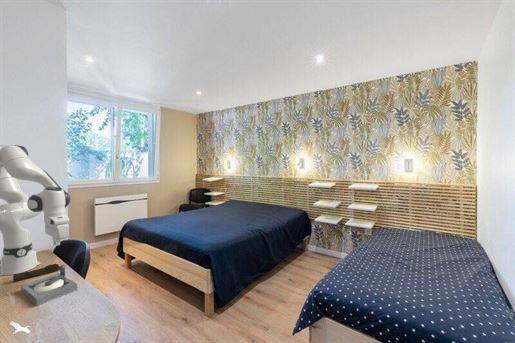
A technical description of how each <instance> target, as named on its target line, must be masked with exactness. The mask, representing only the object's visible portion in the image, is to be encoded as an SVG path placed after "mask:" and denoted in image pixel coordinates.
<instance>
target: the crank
mask: <svg viewBox="0 0 515 343" xmlns="http://www.w3.org/2000/svg"><path fill="white" fill-rule="evenodd" d="M59 266H60V270H59V272H60V275H59V276H57V277H55V278H53V279H52V280H49V281H45V282H43V283H40V284H38V285H37V286H35V287H34V292H35V293H37V294H38V295H39V294H42V293H44V292H47V291H50V290H53V289H55V288H58V287H61V286H64V281H63V280H62V279H61V278H62V277H64V276H65V277H66V265H65V264H62V265H59Z"/></svg>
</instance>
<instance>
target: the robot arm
mask: <svg viewBox="0 0 515 343" xmlns="http://www.w3.org/2000/svg"><path fill="white" fill-rule="evenodd" d="M18 180H22V181H27V182H29V181H30V182H34V183H38V184H40V185H41V186H42V187H43V190H42V191H40V192H38V193H35V194H31V195H30V196H28V195H27V194H26V193H25V192H24V191H23V189H22V188H21V186H20V183H19V181H18ZM0 200H3V201H5V202H6V204H5V203H4V204H0V233H1V235H2V239H3V249H2V257H1V259H0V276H10V275H11V276H13V275H14V274H20V273H24V272H29V271H31V270H34V268H36V266H39V265H41V263H42V262H41V261H39V260H37V251H35V250H33V243H32V242H31V230H30V229H28V228H27V227H23V226H21V223H20V222H21V221H25V220H29V219H33V218H36V217H37V216H39V215H41V213H42V212H43V221H44V223H43V224H44V225H45V226H44V231H45V234H46V235H48V236H50V237H51V238H52V242H53V245H54V246H60V245H61V240H64V239H68V238H69V235H70V232H69V231H70V230H69V228H70V227H69V223H70V218H69V216H68V215H67V209H66V208H67V207H68V206H69V204H70V203H71V195H70V194H69V192H67V191H66V190H64V189H63V188H62V187H61V186H60V184H59V183H57V181H56V180H55V179H53V177H52V176H51V175H50V174H49V173H48V172H47V171H46V170H44V169H42V168H40V167H39V166H37V165H36V164H35V163H34V162H33V161H32V160H31V158H30V157H29V152H28V150H27V148H26V147H25V146H22V145H17V144H15V145H13V144H11V145H7V144H6V145H5V144H3V145H1V144H0Z"/></svg>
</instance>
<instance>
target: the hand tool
mask: <svg viewBox="0 0 515 343" xmlns="http://www.w3.org/2000/svg"><path fill="white" fill-rule="evenodd" d="M60 266H61V265H59V264H58V263H52V264H48V265H45V266H44V267H42V268H38V269H32V270H28V271H25V272H22V273H18V274H12V276H13V277H12V281H13V283H15V282H20V281H21V280H26V279H29V278H33V277H37V276H41V275H49V274H53V273H57V272H58V271H59V272H60Z"/></svg>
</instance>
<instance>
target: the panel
mask: <svg viewBox="0 0 515 343" xmlns="http://www.w3.org/2000/svg"><path fill="white" fill-rule="evenodd" d="M59 275H60V273H59V272H56V273H55V274H52V275H48V276H46V277H43V278H39V279H36V280H33V281H30V282H26V283H24V284H20V292H22V294H23V295H25V296H26V297H27V299H29V300H31V302H33V304H35V305H36V306H37V307H38V306H40V305H41V306H42V305H43V304H46V303H48V302H50V301H53V300H55V299H58V298H61V297H63V296H66V295H68V294H71V293H73V292H76V291H78V283H76V282H74V280H73V279H70V278H68V277H66V275H65V276H64V277H62V278H61V279H62V280H63V281H64V286H61V287H58V288H55V289H53V290H50V291H47V292H44V293H42V294H39V295H38V294H37V293H35V292H34V287H35V286H37V285H38V284H40V283H43V282H45V281H49V280H52V279H53V278H55V277H57V276H59Z"/></svg>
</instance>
